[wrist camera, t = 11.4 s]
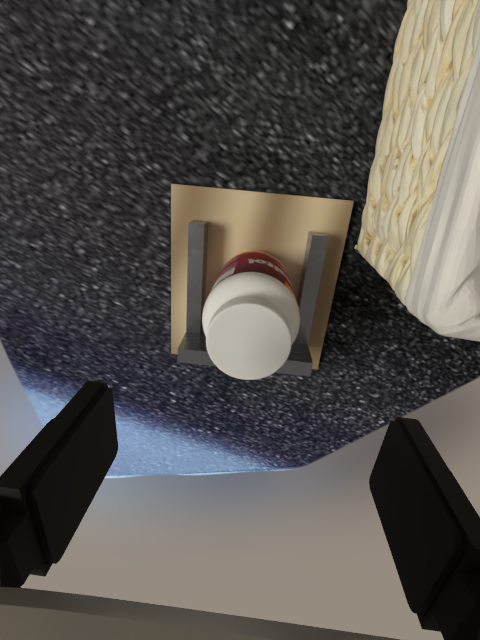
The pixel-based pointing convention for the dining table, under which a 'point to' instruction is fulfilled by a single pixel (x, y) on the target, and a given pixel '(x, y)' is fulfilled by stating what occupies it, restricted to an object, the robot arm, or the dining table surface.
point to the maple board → (256, 242)
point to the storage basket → (430, 169)
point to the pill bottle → (251, 316)
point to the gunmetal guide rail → (195, 338)
